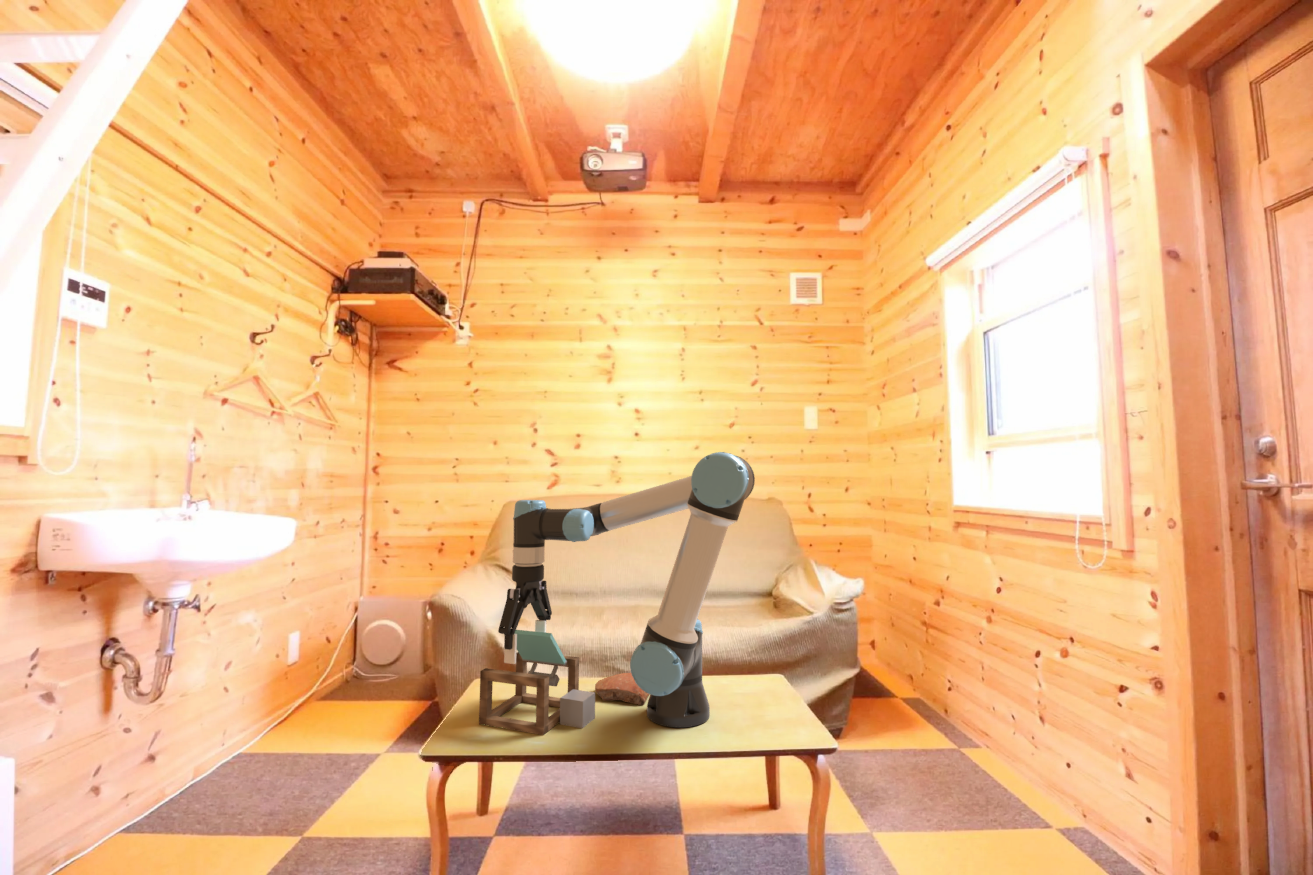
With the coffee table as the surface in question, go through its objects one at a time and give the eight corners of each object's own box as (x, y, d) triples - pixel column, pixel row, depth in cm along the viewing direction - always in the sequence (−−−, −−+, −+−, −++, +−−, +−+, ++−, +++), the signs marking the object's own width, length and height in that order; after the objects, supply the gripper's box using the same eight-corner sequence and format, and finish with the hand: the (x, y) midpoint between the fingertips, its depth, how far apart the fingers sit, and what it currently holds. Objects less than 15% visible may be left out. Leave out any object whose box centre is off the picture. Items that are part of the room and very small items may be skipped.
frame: (578, 706, 141) (579, 657, 142) (543, 734, 125) (544, 679, 126) (519, 697, 147) (520, 650, 148) (478, 724, 131) (480, 670, 132)
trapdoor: (564, 687, 140) (571, 668, 143) (544, 651, 131) (552, 632, 135) (520, 681, 144) (529, 663, 147) (498, 646, 135) (507, 628, 139)
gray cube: (594, 718, 134) (595, 692, 135) (582, 728, 129) (583, 701, 129) (572, 714, 137) (573, 689, 137) (559, 724, 131) (560, 697, 132)
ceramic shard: (607, 663, 160) (658, 674, 157) (603, 687, 159) (654, 699, 156) (591, 672, 146) (647, 685, 143) (586, 699, 145) (643, 712, 141)
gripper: (541, 556, 150) (538, 639, 148) (484, 570, 126) (480, 668, 125) (566, 558, 147) (564, 642, 145) (513, 572, 124) (510, 672, 122)
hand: (525, 654), depth 135 cm, fingers open, 12 cm apart
